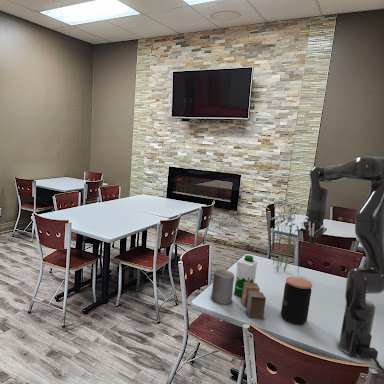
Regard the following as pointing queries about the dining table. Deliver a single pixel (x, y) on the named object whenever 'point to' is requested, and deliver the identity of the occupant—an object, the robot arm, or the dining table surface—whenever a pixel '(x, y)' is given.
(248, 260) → the milk carton
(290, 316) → the coffee jar
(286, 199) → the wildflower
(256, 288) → the oak block
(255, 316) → the walnut block
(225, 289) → the pillar candle
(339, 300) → the dining table surface
